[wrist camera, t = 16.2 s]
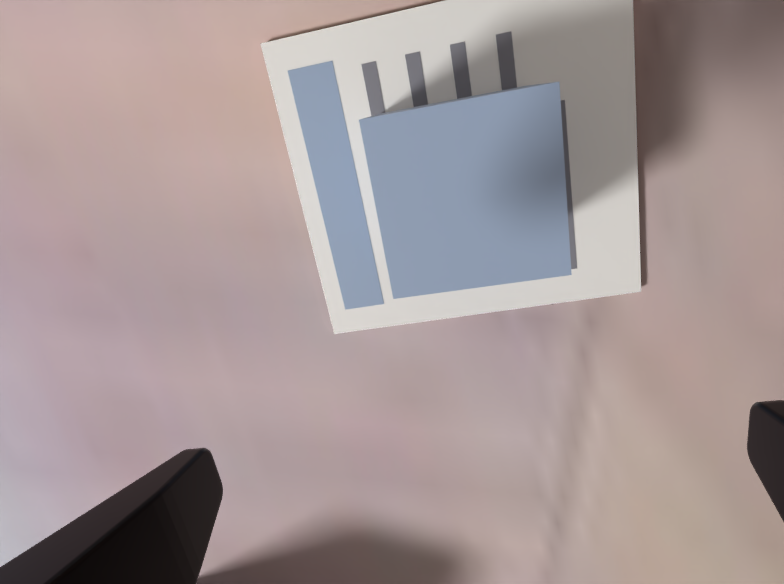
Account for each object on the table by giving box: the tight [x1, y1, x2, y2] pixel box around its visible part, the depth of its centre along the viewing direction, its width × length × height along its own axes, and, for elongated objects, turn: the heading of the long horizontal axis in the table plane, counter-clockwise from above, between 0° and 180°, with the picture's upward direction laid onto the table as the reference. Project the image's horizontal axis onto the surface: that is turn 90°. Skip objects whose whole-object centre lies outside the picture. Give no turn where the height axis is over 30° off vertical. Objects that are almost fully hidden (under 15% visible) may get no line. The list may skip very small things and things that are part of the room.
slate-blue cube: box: [359, 82, 572, 299], centre depth 16 cm, size 5×5×5 cm
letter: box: [261, 0, 641, 334], centre depth 18 cm, size 12×11×1 cm
